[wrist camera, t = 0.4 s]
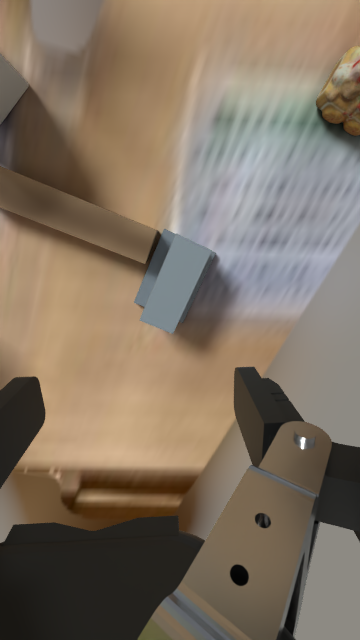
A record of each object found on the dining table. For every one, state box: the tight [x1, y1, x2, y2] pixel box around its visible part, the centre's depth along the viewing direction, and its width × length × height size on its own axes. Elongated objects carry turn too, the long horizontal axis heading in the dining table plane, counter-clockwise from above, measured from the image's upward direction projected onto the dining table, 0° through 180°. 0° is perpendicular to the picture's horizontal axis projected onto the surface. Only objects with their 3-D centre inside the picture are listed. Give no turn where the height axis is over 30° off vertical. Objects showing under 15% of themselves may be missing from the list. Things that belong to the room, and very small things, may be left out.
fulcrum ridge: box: [134, 229, 216, 334], centre depth 33 cm, size 10×7×7 cm
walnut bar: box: [0, 166, 158, 264], centre depth 32 cm, size 4×20×4 cm, turn 68°
